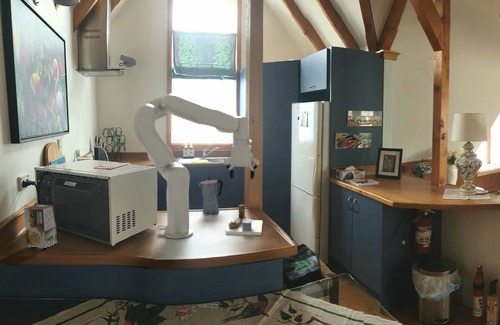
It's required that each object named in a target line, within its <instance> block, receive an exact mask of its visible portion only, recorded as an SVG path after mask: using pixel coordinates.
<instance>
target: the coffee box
mask: <svg viewBox="0 0 500 325" xmlns="http://www.w3.org/2000/svg"><path fill="white" fill-rule="evenodd" d="M23 215H24V225H25V235H26V245H27V246H26V247H27V248H31V247H38V248H37V249H43V248H47V247H49V248H51V247H53V246H55V245H54V244H56V243H57V244H58V237H57V221H56V207H55V205H50V204H49V205H47V204H34V205H31V206H28V207H25V208H23ZM57 244H56V245H57ZM52 245H53V246H52ZM50 246H51V247H50ZM47 249H48V248H47Z"/></svg>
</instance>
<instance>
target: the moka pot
mask: <svg viewBox="0 0 500 325" xmlns="http://www.w3.org/2000/svg"><path fill="white" fill-rule="evenodd" d="M219 183H220V184H219ZM218 184H219V193H218ZM198 186H199V187H200V189H201V194H202V197H203V200H202V201H203V202H202V213H203V215H204V214H205V215H215V214H218V213H219V211H220V209H219V205H218V199H217V197H219V196H221V194H222V189H223V186H224V182H223V181H222V180H221V179H220V178H219V179H214V180H212V179H211V177H210V176H208V177H207V180H204V181H201V182H199V183H198Z"/></svg>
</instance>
